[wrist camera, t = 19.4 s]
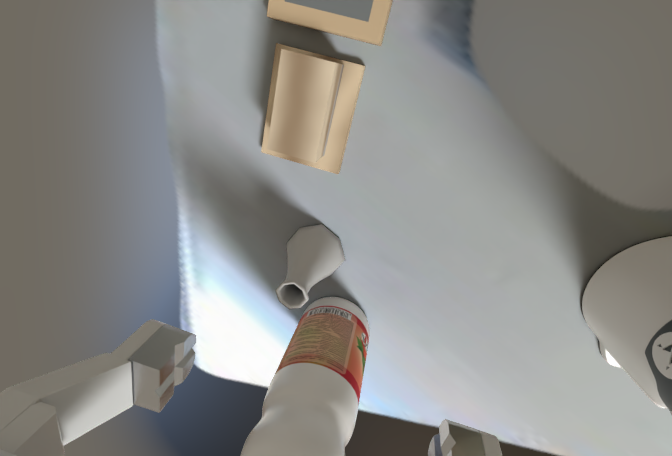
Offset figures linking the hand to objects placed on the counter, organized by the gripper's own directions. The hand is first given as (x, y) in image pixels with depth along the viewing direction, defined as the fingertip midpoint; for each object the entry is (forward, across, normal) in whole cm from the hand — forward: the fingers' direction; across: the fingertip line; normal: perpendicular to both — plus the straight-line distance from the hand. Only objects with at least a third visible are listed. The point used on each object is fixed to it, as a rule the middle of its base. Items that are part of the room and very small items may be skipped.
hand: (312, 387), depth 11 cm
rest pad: (+29, +9, -4) cm, 31 cm away
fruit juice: (+29, 0, +22) cm, 37 cm away
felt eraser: (+28, +9, -5) cm, 30 cm away
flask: (+29, +5, +12) cm, 32 cm away
